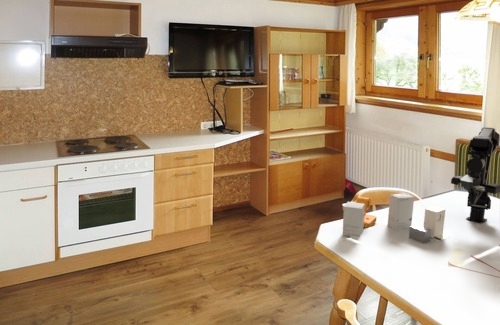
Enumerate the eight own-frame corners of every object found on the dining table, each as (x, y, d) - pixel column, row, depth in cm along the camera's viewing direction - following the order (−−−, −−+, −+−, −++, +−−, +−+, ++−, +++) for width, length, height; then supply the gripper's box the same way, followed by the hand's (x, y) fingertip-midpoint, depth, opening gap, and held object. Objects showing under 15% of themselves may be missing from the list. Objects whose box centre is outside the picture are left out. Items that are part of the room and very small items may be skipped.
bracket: (368, 229, 189) (370, 202, 186) (352, 226, 193) (354, 199, 190) (376, 222, 198) (378, 196, 195) (360, 218, 202) (362, 193, 199)
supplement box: (363, 232, 186) (365, 203, 183) (359, 238, 179) (361, 208, 176) (346, 229, 189) (347, 201, 186) (341, 235, 182) (343, 206, 179)
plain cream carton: (431, 231, 184) (434, 206, 181) (448, 237, 178) (451, 211, 175) (417, 236, 179) (420, 210, 176) (434, 242, 172) (437, 215, 170)
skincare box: (395, 232, 186) (397, 198, 183) (386, 227, 192) (389, 194, 188) (411, 230, 188) (415, 196, 185) (403, 225, 194) (405, 192, 191)
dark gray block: (414, 236, 179) (415, 224, 178) (430, 241, 174) (431, 229, 172) (408, 238, 177) (409, 226, 176) (424, 244, 171) (425, 232, 170)
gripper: (445, 165, 184) (441, 201, 187) (490, 175, 169) (485, 214, 172) (460, 162, 190) (456, 197, 194) (505, 171, 175) (499, 209, 179)
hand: (473, 204), depth 184 cm, fingers closed
